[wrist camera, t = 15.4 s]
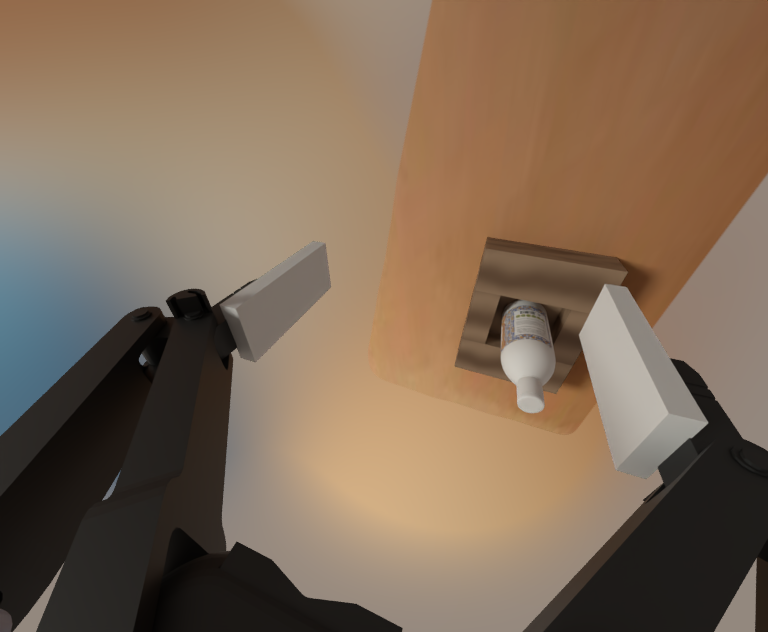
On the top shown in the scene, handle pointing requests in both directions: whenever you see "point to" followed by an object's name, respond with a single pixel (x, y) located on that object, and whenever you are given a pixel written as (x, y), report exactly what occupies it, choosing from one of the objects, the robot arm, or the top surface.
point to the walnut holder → (535, 284)
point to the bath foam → (527, 352)
